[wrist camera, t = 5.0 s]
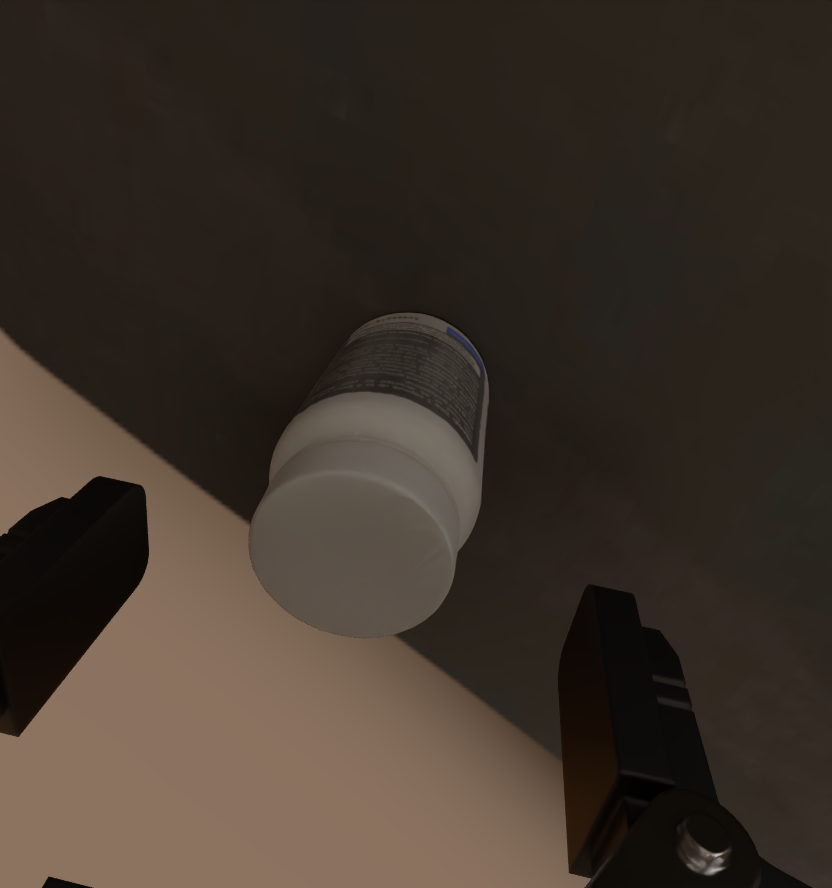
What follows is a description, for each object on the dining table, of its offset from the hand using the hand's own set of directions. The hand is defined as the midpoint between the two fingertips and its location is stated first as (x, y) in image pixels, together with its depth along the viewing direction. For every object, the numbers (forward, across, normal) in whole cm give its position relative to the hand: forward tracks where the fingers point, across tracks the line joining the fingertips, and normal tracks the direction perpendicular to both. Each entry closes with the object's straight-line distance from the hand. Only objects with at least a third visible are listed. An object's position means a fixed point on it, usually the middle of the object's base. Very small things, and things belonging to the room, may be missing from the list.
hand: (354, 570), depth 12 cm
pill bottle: (+9, 0, 0) cm, 9 cm away
